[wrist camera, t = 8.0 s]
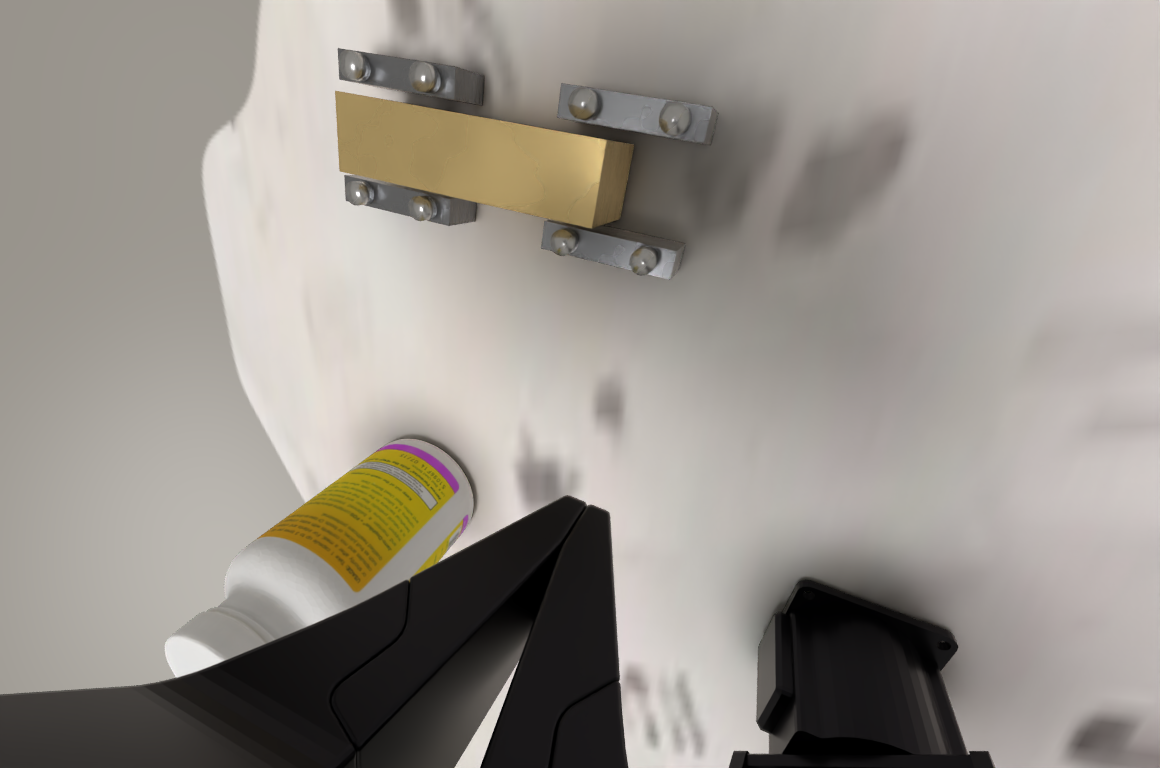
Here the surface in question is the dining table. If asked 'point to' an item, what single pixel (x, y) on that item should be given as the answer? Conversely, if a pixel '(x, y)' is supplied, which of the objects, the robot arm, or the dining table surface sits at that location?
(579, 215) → the brushed brass bar
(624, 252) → the block with bolts
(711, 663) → the dining table surface
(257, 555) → the supplement bottle
